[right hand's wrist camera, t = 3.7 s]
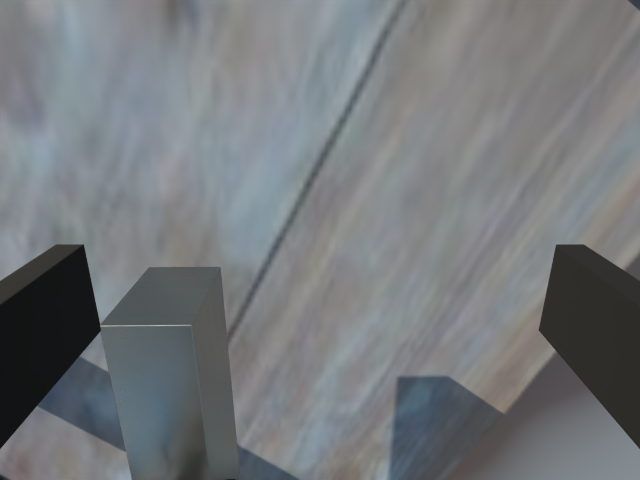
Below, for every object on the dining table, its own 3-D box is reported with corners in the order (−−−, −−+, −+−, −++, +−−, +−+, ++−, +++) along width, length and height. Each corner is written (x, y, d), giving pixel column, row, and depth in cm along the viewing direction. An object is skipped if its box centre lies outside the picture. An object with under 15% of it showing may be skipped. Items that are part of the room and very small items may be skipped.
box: (148, 267, 36) (98, 326, 27) (220, 266, 36) (191, 325, 27) (181, 472, 44) (149, 565, 35) (239, 471, 44) (222, 564, 35)
